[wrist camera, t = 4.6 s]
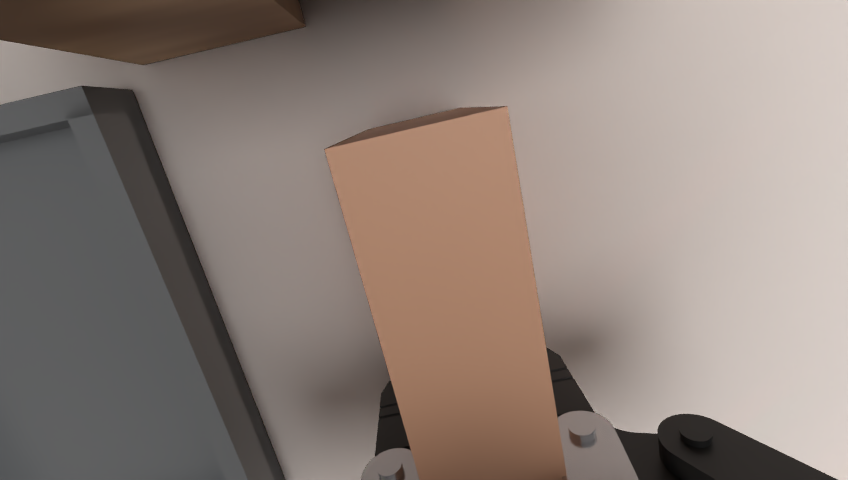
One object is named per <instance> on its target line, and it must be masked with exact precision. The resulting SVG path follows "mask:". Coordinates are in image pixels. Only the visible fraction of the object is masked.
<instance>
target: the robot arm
mask: <svg viewBox="0 0 848 480" xmlns="http://www.w3.org/2000/svg"><path fill="white" fill-rule="evenodd" d="M546 350H547V356H548V362H549V368H550V374H551V381H552V387H553V393H554V399H555V405H556V412H557V418H558V424H559V430H560V436H561V443H562V449H563V455H564V461H565V467H566V474H567V476H563V477H562V480H837V479H835V478H833V477H831V476H829V475H827V474H825V473H823V472H821V471H819V470H816V469H814V468H812V467H810V466H808V465H806V464H804V463H802V462H800V461H798V460H796V459H794V458H792V457H789V456H787V455H785V454H783V453H781V452H779V451H777V450H775V449H773V448H771V447H769V446H767V445H765V444H763V443H760V442H758V441H756V440H754V439H752V438H750V437H748V436H746V435H744V434H742V433H740V432H738V431H736V430H733V429H731V428H729V427H727V426H725V425H723V424H721V423H719V422H717V421H715V420H712V419H710V418H707V417H704V416H700V415H694V414H679V415H674V416H671V417H668V418H666V419H665V420H663V421H662V422H661V423H660V425H659V427H658V434H650V433H633V432H626V431H622V430H618V429H616V428H614V427H613V425H612V424H611V423H610V422H609V421H608V420H607V419H606V418H604V417H603V416H601V415H599V414H596V413H595V412H594V411H593V409H592V408H591V406H590V404H589V403H588V401H587V399H586V398H585V396H584V394H583V393H582V391H581V390H580V388H579V386H578V385H577V383H576V381H575V380H574V379H573V377H572V375H571V373H570V372H569V370H568V369H567V367H566V365H565V364H564V362H563V360H562V359H561V357H560V356H559V355H558V354H556V353H555V352H553V351H551V350H550V349H548V348H546ZM361 480H419V476H418V473H417V469H416V466H415V462H414V459H413V455H412V452H411V448H410V445H409V441H408V438H407V435H406V431H405V428H404V424H403V421H402V417H401V414H400V410H399V407H398V403H397V400H396V396H395V393H394V389H393V386H392V382H391V381H389V383H388V384H387V386H386V387H385V389H384V390H383V392H382V393H381V402H380V412H379V422H378V432H377V441H376V451H375V457H374V458H373V459H372V460H371V461H370V462H369V463H368V464H367V466H366V467H365V469H364V471H363V473H362V478H361Z"/></svg>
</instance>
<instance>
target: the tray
mask: <svg viewBox="0 0 848 480" xmlns="http://www.w3.org/2000/svg"><path fill="white" fill-rule="evenodd" d="M0 480H285V479H284V476H283V474H282V471H281V468H280V466H279V463H278V461H277V458H276V456H275V453H274V451H273V448H272V445H271V443H270V440H269V438H268V435H267V433H266V430H265V428H264V425H263V423H262V420H261V417H260V415H259V412H258V410H257V407H256V405H255V402H254V400H253V397H252V394H251V392H250V389H249V387H248V384H247V382H246V379H245V377H244V374H243V372H242V369H241V366H240V364H239V361H238V359H237V356H236V354H235V351H234V349H233V346H232V343H231V341H230V338H229V336H228V333H227V331H226V328H225V326H224V323H223V320H222V318H221V315H220V313H219V310H218V308H217V305H216V303H215V300H214V298H213V295H212V292H211V290H210V287H209V285H208V282H207V280H206V277H205V275H204V272H203V269H202V267H201V264H200V262H199V259H198V257H197V254H196V252H195V249H194V246H193V244H192V241H191V239H190V236H189V234H188V231H187V229H186V226H185V224H184V221H183V218H182V216H181V213H180V211H179V208H178V206H177V203H176V201H175V198H174V195H173V193H172V190H171V188H170V185H169V183H168V180H167V178H166V175H165V172H164V170H163V167H162V165H161V162H160V160H159V157H158V155H157V152H156V150H155V147H154V144H153V142H152V139H151V137H150V134H149V132H148V129H147V127H146V124H145V121H144V119H143V116H142V114H141V111H140V109H139V106H138V104H137V101H136V98H135V96H134V93H133V91H132V90H128V89H115V88H103V87H90V86H78V87H74V88H70V89H66V90H61V91H57V92H53V93H49V94H44V95H40V96H36V97H31V98H27V99H23V100H19V101H14V102H10V103H6V104H2V105H0Z"/></svg>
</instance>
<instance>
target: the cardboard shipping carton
mask: <svg viewBox="0 0 848 480" xmlns="http://www.w3.org/2000/svg"><path fill="white" fill-rule="evenodd" d="M302 27H306V25H305V22H304V18H303V14H302V11H301V7H300V3H299V0H0V40H4V41H10V42H15V43H21V44H27V45H32V46H38V47H44V48H49V49H55V50H61V51H66V52H72V53H78V54H84V55H89V56H95V57H101V58H106V59H112V60H118V61H123V62H129V63H135V64H140V65H145V64H149V63H154V62H158V61H162V60H166V59H171V58H175V57H179V56H183V55H188V54H192V53H196V52H200V51H205V50H209V49H213V48H217V47H222V46H226V45H230V44H234V43H239V42H243V41H247V40H251V39H256V38H260V37H264V36H268V35H273V34H277V33H281V32H285V31H290V30H294V29H298V28H302Z"/></svg>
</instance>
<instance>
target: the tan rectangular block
mask: <svg viewBox="0 0 848 480" xmlns="http://www.w3.org/2000/svg"><path fill="white" fill-rule="evenodd" d="M324 150H325V153H326V157H327V160H328V164H329V167H330V171H331V174H332V178H333V181H334V185H335V188H336V192H337V195H338V199H339V202H340V205H341V209H342V212H343V216H344V219H345V223H346V226H347V230H348V233H349V237H350V240H351V244H352V247H353V251H354V254H355V258H356V261H357V264H358V268H359V271H360V275H361V278H362V282H363V285H364V289H365V292H366V296H367V299H368V303H369V306H370V310H371V313H372V317H373V320H374V323H375V327H376V330H377V334H378V337H379V341H380V344H381V348H382V351H383V355H384V358H385V362H386V365H387V369H388V372H389V376H390V379H391V382H392V386H393V389H394V393H395V396H396V400H397V403H398V407H399V410H400V414H401V417H402V421H403V424H404V428H405V431H406V435H407V438H408V441H409V445H410V448H411V452H412V455H413V459H414V462H415V466H416V469H417V473H418V476H419V480H562V477H563V476H567V474H566V467H565V461H564V455H563V449H562V443H561V436H560V430H559V424H558V418H557V412H556V405H555V399H554V393H553V387H552V381H551V374H550V368H549V362H548V356H547V350H546V343H545V337H544V331H543V325H542V319H541V312H540V306H539V300H538V294H537V288H536V282H535V275H534V269H533V263H532V257H531V251H530V244H529V238H528V232H527V226H526V220H525V213H524V207H523V201H522V195H521V189H520V182H519V176H518V170H517V164H516V158H515V151H514V145H513V139H512V133H511V127H510V120H509V114H508V108H507V106H502V107H472V108H457V109H453V110H449V111H445V112H440V113H436V114H432V115H428V116H423V117H419V118H415V119H411V120H406V121H402V122H398V123H394V124H389V125H385V126H381V127H377V128H372V129H368V130H366V131H364V132H362V133H359V134H357V135H355V136H353V137H350V138H348V139H346V140H344V141H341V142H339V143H337V144H335V145H332V146H330V147H328V148H326V149H324Z"/></svg>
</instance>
